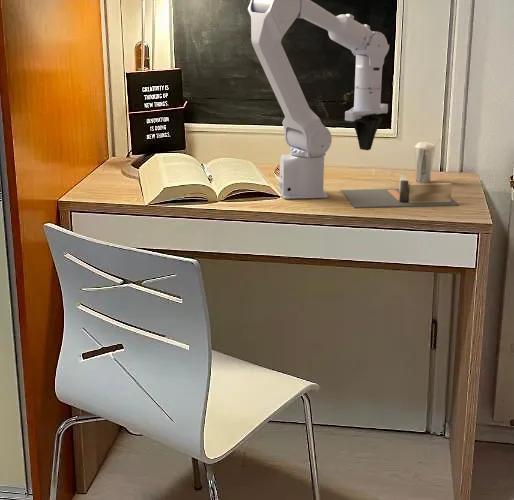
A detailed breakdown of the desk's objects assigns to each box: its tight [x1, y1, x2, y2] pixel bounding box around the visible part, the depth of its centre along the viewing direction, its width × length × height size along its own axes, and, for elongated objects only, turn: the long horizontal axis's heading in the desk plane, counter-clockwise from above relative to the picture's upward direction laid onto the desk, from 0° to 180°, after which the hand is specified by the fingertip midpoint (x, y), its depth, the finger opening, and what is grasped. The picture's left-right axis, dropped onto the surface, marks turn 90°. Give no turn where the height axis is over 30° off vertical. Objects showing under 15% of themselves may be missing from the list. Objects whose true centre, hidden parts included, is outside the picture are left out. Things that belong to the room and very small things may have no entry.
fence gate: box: [398, 173, 408, 190], centre depth 193 cm, size 9×1×3 cm, turn 173°
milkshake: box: [414, 138, 441, 183], centre depth 205 cm, size 5×5×10 cm
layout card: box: [340, 188, 460, 209], centre depth 192 cm, size 22×14×1 cm, turn 97°
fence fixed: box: [400, 179, 453, 203], centre depth 188 cm, size 11×2×4 cm, turn 97°
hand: (365, 149), depth 200 cm, fingers closed
